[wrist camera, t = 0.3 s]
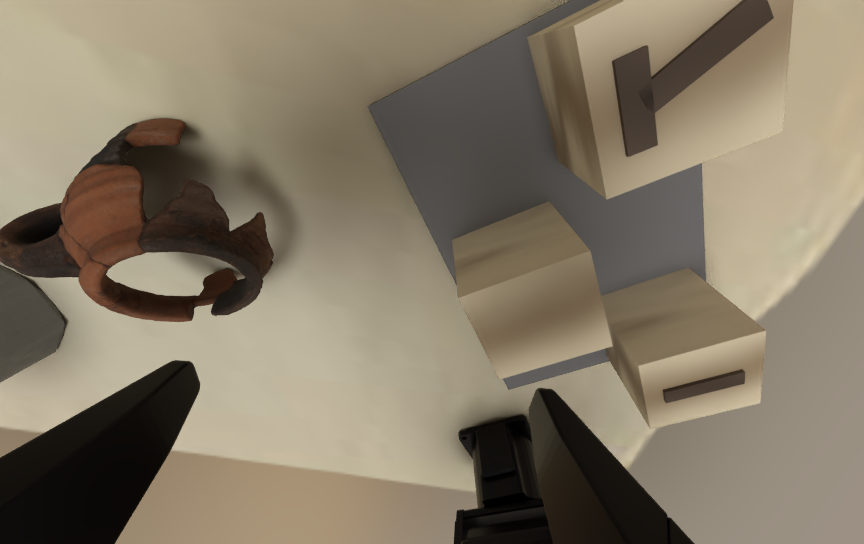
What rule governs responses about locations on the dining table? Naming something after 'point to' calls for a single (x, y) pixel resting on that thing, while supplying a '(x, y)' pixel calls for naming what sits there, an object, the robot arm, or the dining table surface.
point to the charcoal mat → (529, 172)
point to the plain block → (530, 291)
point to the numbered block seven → (661, 85)
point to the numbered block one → (683, 348)
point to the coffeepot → (25, 324)
